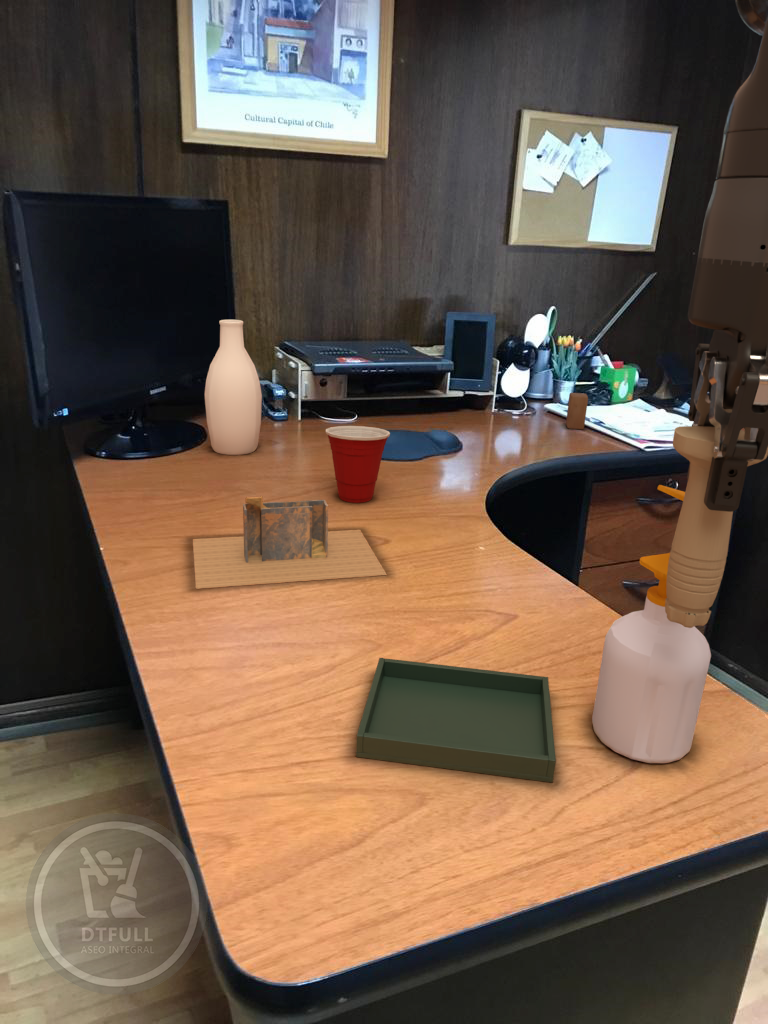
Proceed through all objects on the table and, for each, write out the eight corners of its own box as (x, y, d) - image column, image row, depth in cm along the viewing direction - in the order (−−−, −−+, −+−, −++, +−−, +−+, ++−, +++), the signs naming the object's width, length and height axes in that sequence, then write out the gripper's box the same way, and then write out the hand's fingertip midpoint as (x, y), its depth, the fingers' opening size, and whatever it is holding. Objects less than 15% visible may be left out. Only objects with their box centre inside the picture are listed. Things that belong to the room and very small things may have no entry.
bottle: (262, 456, 152) (260, 325, 143) (204, 457, 151) (199, 324, 142) (262, 441, 163) (260, 318, 154) (208, 441, 161) (203, 316, 152)
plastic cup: (390, 489, 137) (393, 423, 133) (383, 510, 127) (386, 439, 123) (330, 484, 138) (331, 419, 134) (318, 505, 128) (319, 434, 124)
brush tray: (545, 696, 79) (548, 676, 78) (552, 782, 66) (556, 760, 65) (378, 676, 81) (379, 657, 80) (355, 757, 68) (356, 735, 68)
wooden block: (566, 428, 184) (571, 395, 182) (565, 424, 188) (569, 392, 185) (583, 430, 184) (588, 396, 181) (582, 426, 188) (586, 393, 185)
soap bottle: (572, 717, 75) (608, 477, 67) (647, 699, 79) (691, 469, 70) (632, 775, 68) (682, 513, 59) (712, 753, 71) (770, 502, 62)
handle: (734, 640, 58) (778, 448, 53) (645, 628, 59) (679, 439, 54) (722, 611, 63) (761, 431, 57) (640, 600, 64) (671, 423, 58)
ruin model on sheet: (195, 588, 98) (192, 517, 94) (192, 539, 113) (189, 475, 109) (386, 574, 104) (390, 507, 100) (360, 529, 119) (362, 469, 115)
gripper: (677, 249, 58) (642, 464, 64) (728, 256, 45) (677, 527, 51) (782, 254, 57) (736, 472, 63) (865, 262, 44) (797, 537, 50)
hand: (710, 495), depth 57 cm, fingers closed on handle, 5 cm apart
